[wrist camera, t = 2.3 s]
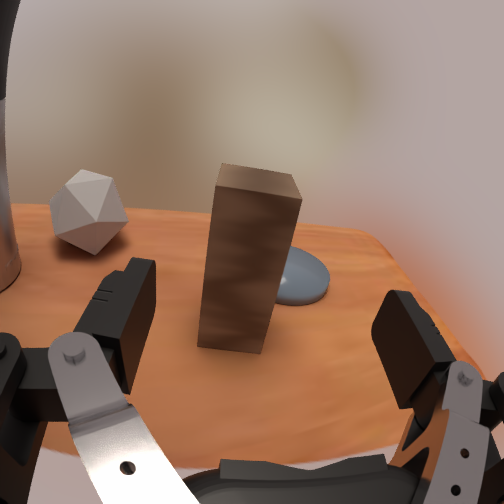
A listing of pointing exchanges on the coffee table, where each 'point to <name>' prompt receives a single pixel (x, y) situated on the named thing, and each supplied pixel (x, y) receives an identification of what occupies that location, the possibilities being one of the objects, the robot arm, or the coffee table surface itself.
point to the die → (87, 211)
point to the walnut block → (246, 256)
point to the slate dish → (302, 279)
